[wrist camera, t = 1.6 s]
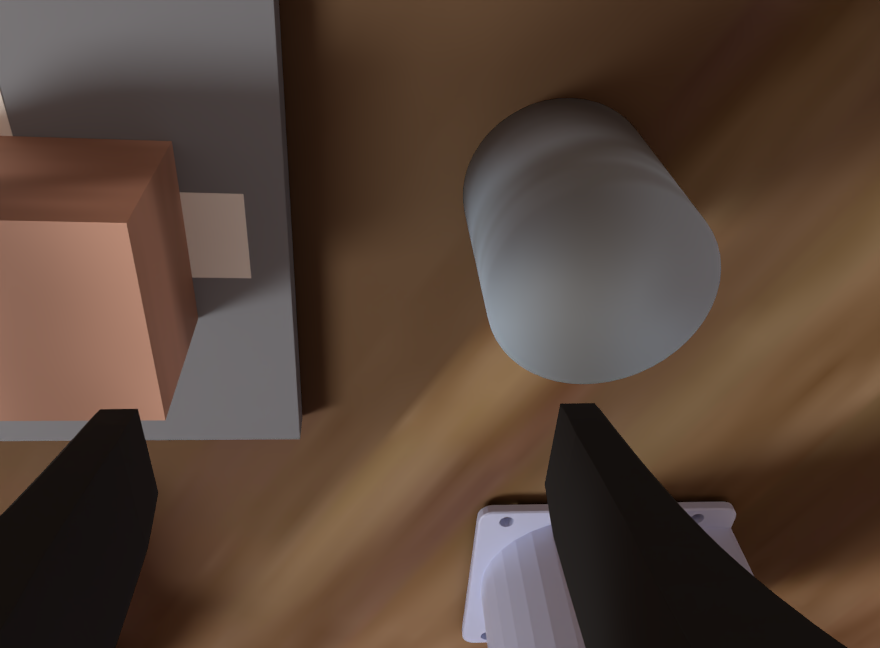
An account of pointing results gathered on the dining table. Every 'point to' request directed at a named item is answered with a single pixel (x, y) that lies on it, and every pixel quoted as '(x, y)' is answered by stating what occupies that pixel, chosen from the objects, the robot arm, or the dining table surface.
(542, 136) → the slate cylinder
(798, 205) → the dining table surface
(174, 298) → the terracotta block
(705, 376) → the dining table surface
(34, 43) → the board
